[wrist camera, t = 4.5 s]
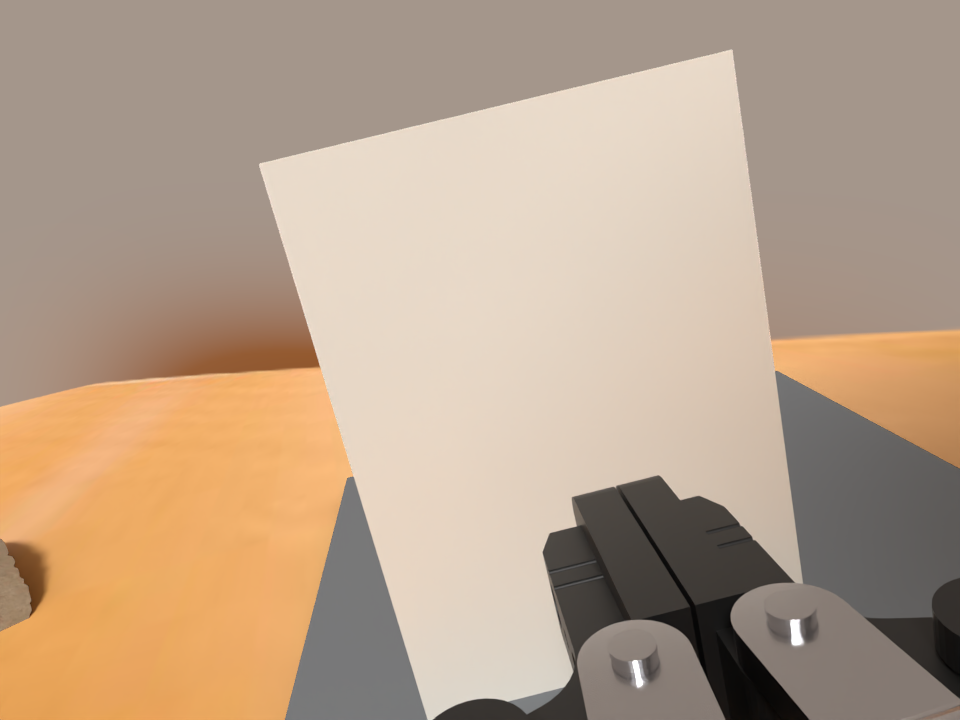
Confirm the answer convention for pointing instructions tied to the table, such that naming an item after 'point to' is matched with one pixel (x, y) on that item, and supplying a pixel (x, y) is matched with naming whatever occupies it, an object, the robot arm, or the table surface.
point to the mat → (820, 535)
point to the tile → (536, 345)
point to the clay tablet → (12, 592)
